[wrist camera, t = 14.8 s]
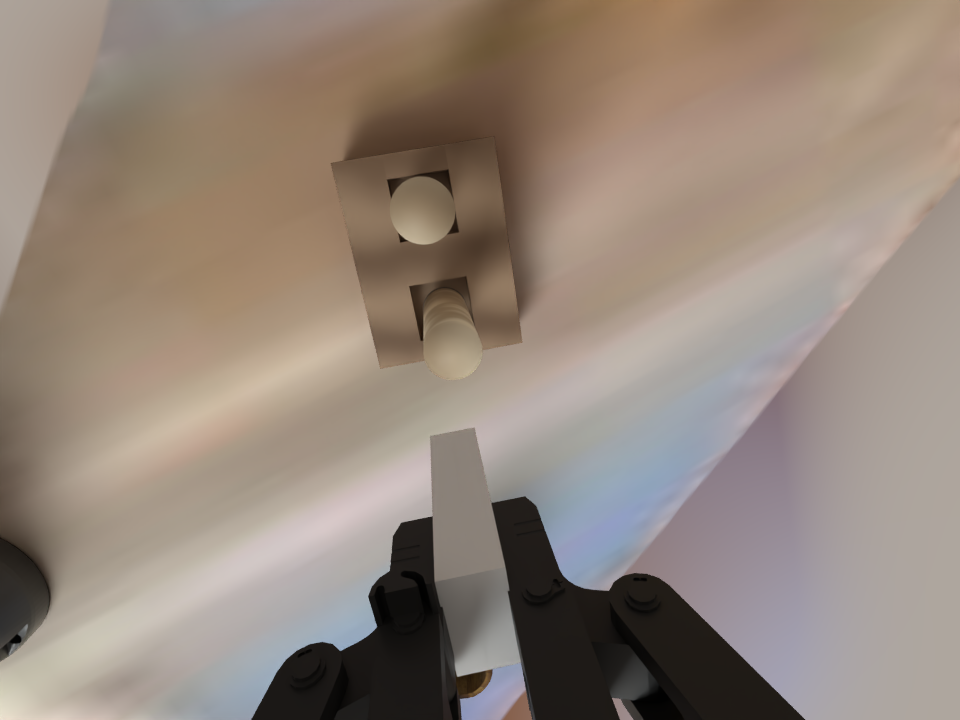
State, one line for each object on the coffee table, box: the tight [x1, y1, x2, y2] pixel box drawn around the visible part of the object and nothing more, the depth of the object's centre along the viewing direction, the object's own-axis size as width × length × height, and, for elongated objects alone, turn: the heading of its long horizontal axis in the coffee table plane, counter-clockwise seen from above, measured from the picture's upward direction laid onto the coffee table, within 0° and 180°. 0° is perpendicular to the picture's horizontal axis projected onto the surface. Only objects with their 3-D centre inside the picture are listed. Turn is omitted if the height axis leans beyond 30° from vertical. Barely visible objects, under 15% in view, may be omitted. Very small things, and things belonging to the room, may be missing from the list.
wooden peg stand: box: [331, 136, 522, 369], centre depth 35 cm, size 16×12×16 cm
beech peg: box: [423, 287, 483, 380], centre depth 35 cm, size 4×4×14 cm
